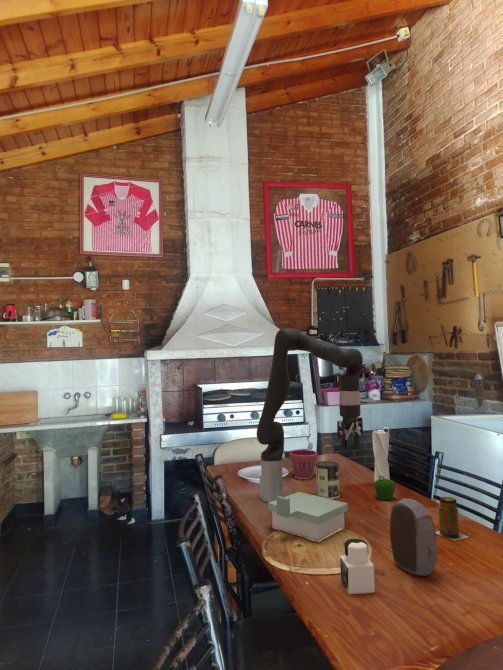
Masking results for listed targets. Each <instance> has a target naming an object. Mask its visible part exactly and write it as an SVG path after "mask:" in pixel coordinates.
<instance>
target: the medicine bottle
mask: <svg viewBox="0 0 503 670" xmlns="http://www.w3.org/2000/svg"><path fill="white" fill-rule="evenodd" d="M368 545H369V544H368V542H367V541H365V540H363V539H360V538H350V539H346V540H345V542H344V554H343V555H340V557H339V558H340V560H339V561H340V563H339V564H340V567H339V568H340V582H341V584H342V586H343V587H344V589H345V591H346V593H347V594H348V595H361V594H374V593H375V565H374V564H373V563H372V560H371V559H369V552H368V551H369V550H368V549H369V546H368Z"/></svg>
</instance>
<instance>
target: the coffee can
mask: <svg viewBox="0 0 503 670" xmlns="http://www.w3.org/2000/svg"><path fill="white" fill-rule="evenodd" d="M339 466H340V464H339V462H336V461H329V460H328V461H326V460H324V461H318V462H317V461H316V463H315V480H316V482H315V484H316V486H315V487H316V489H315V490H316V495H315V496H319V497H323V498H327V499H331V500H335V499H339V498H340V497H341V495H340V494H341V493H340V470H339Z"/></svg>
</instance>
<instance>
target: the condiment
mask: <svg viewBox="0 0 503 670" xmlns="http://www.w3.org/2000/svg"><path fill="white" fill-rule="evenodd" d="M458 509H459V508H458V507H457V499H456V498H454V497H450V496H441V497H440V498H439V505H438V519H439V520H438V524H439V525H438V526H439V531H435V534H436V535H438V536H441V537H444V538H446V539H449V540H452V541H453V542H455V541H460V540H464V539H467V538H469V536H468V535H465V534H463V533H460V531H459V529H460V528H459V510H458Z"/></svg>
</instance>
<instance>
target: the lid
mask: <svg viewBox="0 0 503 670" xmlns="http://www.w3.org/2000/svg"><path fill="white" fill-rule="evenodd" d="M267 507H268V508H267V510H268V511H270V512H272V511H273V512H277V515H279V516H282V517H286V518H288V517H294V518H298V519H301V520H305V521H308V522H312V523H315V524H320V523H322V522H324V521H327V520H329V519H331V518H333V517H335V516H337V515H339V514H342V513H344V514H345V512H346V513H347V512H348V511H349V504H348V503H347V502H344V501H343V502H342V501H338V500H335V499H327V498H323V497H319V496H316V495H314V494H311V493H310V494H308V493H307V492H306V493H304V492H301V491H297V492H294V493H291V494H288V495H286V496H283V497H282V496H278V497H277V500H275V501H272V502H267Z"/></svg>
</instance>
